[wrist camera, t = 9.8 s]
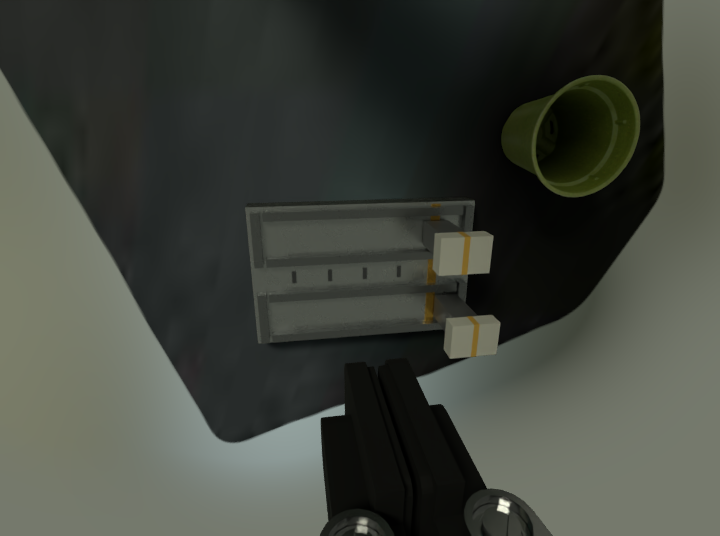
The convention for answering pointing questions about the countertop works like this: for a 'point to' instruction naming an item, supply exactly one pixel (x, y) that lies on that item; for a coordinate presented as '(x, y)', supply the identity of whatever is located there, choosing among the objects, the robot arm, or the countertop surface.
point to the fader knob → (465, 328)
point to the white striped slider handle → (457, 248)
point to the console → (348, 266)
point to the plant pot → (575, 135)
